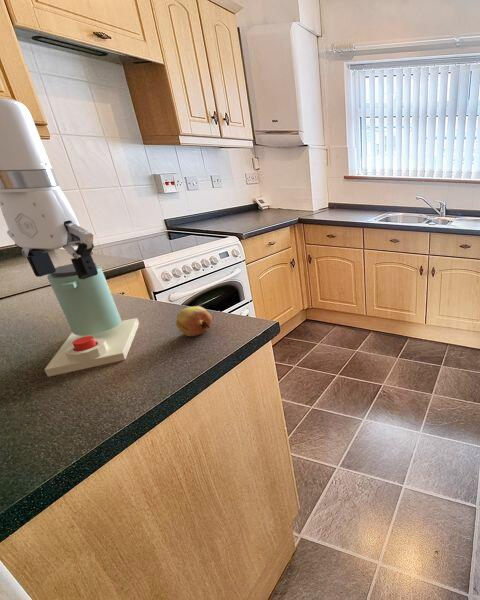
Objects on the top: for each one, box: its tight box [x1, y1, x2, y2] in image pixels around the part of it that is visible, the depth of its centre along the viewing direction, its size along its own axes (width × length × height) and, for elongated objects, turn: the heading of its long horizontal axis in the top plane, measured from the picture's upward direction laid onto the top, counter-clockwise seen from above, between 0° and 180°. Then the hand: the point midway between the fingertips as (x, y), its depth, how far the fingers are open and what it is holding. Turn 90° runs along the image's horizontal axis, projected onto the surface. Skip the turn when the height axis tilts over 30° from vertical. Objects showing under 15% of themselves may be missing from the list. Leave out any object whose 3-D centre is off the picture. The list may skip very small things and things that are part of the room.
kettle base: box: [44, 317, 140, 378], centre depth 73 cm, size 18×12×4 cm, turn 28°
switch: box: [72, 336, 97, 351], centre depth 67 cm, size 3×3×2 cm
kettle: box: [46, 262, 122, 336], centre depth 72 cm, size 12×8×14 cm
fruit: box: [175, 305, 213, 337], centre depth 78 cm, size 7×7×10 cm
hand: (67, 275), depth 64 cm, fingers open, 9 cm apart
